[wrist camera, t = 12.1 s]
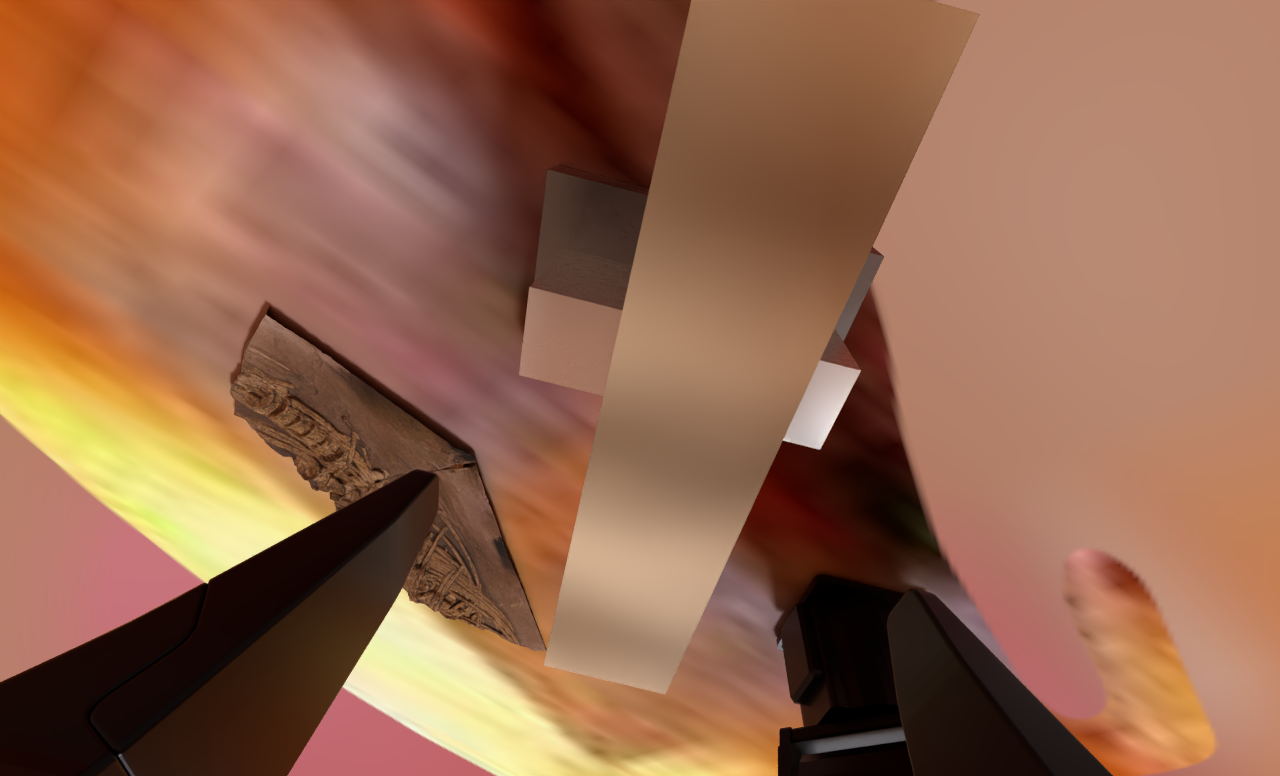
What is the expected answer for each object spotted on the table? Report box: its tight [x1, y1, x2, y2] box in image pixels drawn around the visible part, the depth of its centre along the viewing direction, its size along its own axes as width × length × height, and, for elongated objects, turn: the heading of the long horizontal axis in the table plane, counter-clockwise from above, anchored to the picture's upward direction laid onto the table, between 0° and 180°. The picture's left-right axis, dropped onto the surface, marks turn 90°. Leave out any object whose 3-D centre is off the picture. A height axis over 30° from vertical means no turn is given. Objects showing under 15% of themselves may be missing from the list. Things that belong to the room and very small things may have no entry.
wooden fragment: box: [230, 309, 547, 651], centre depth 28 cm, size 26×11×1 cm, turn 22°
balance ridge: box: [519, 165, 884, 450], centre depth 18 cm, size 12×8×6 cm, turn 77°
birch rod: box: [544, 0, 979, 694], centre depth 13 cm, size 18×4×4 cm, turn 167°
